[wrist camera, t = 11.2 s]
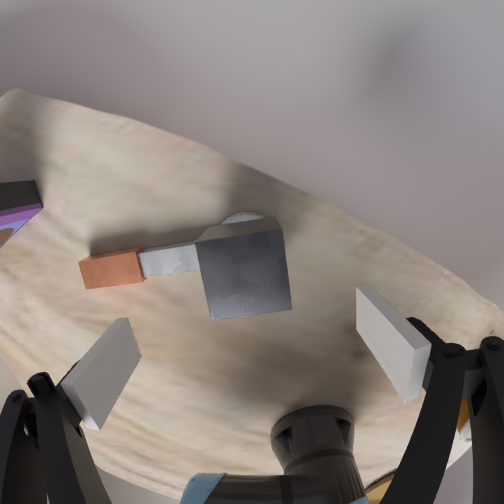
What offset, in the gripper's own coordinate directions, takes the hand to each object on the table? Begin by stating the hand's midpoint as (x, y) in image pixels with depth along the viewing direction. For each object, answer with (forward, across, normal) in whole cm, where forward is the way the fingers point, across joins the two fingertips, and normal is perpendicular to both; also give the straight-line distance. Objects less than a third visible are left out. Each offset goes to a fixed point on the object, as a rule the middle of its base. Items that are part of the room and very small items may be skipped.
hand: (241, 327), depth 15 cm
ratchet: (+20, +9, 0) cm, 22 cm away
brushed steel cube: (+16, 0, 0) cm, 16 cm away
